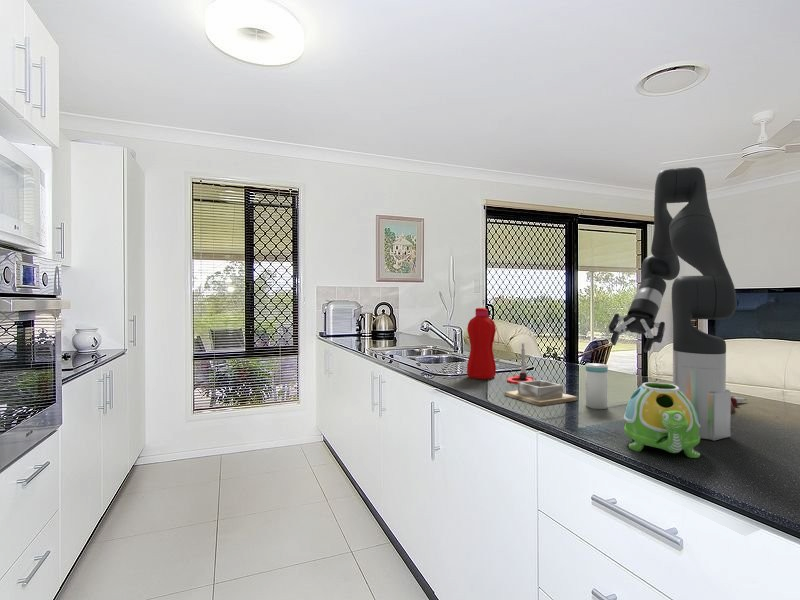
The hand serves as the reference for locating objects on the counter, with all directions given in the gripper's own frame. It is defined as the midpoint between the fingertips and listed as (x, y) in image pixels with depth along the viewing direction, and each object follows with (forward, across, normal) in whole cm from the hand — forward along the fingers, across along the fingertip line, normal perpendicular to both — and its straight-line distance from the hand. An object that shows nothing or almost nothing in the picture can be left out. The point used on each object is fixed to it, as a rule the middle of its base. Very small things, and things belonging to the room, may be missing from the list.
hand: (628, 347), depth 126 cm
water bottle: (+19, -43, +11) cm, 49 cm away
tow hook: (+16, -31, +12) cm, 37 cm away
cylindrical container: (+24, -1, -5) cm, 24 cm away
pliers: (+6, +24, +10) cm, 27 cm away
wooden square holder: (+26, -16, -4) cm, 31 cm away
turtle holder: (+39, +19, -26) cm, 51 cm away
